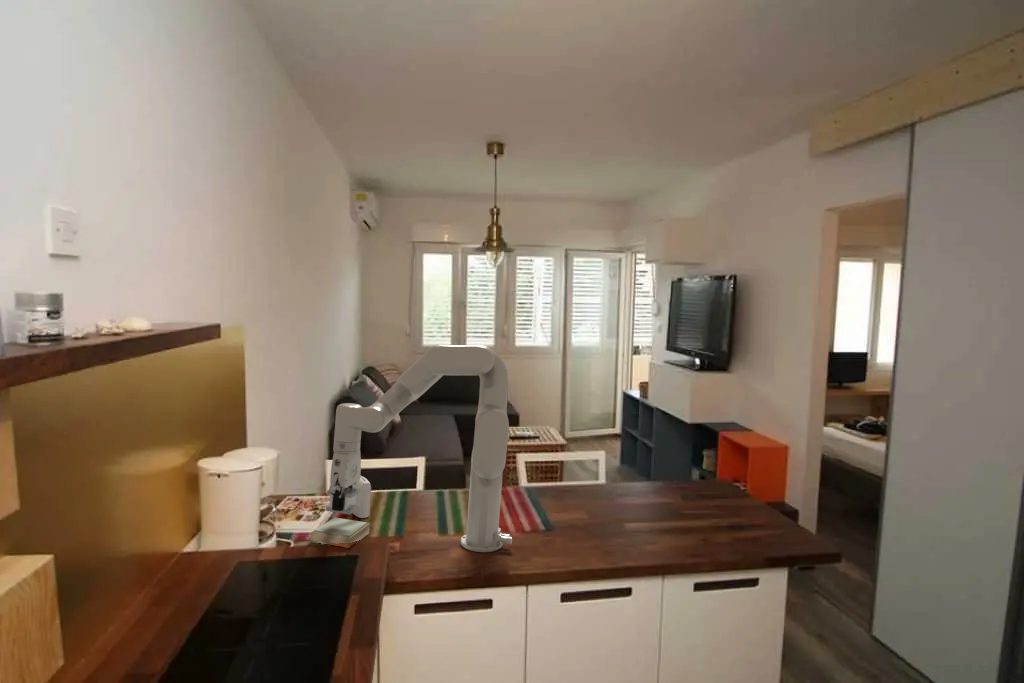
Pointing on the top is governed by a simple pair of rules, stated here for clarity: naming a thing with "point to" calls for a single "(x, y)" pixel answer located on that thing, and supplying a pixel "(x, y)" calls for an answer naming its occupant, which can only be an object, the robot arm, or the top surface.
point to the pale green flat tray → (340, 531)
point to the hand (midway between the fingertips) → (342, 506)
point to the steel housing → (345, 501)
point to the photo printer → (363, 498)
